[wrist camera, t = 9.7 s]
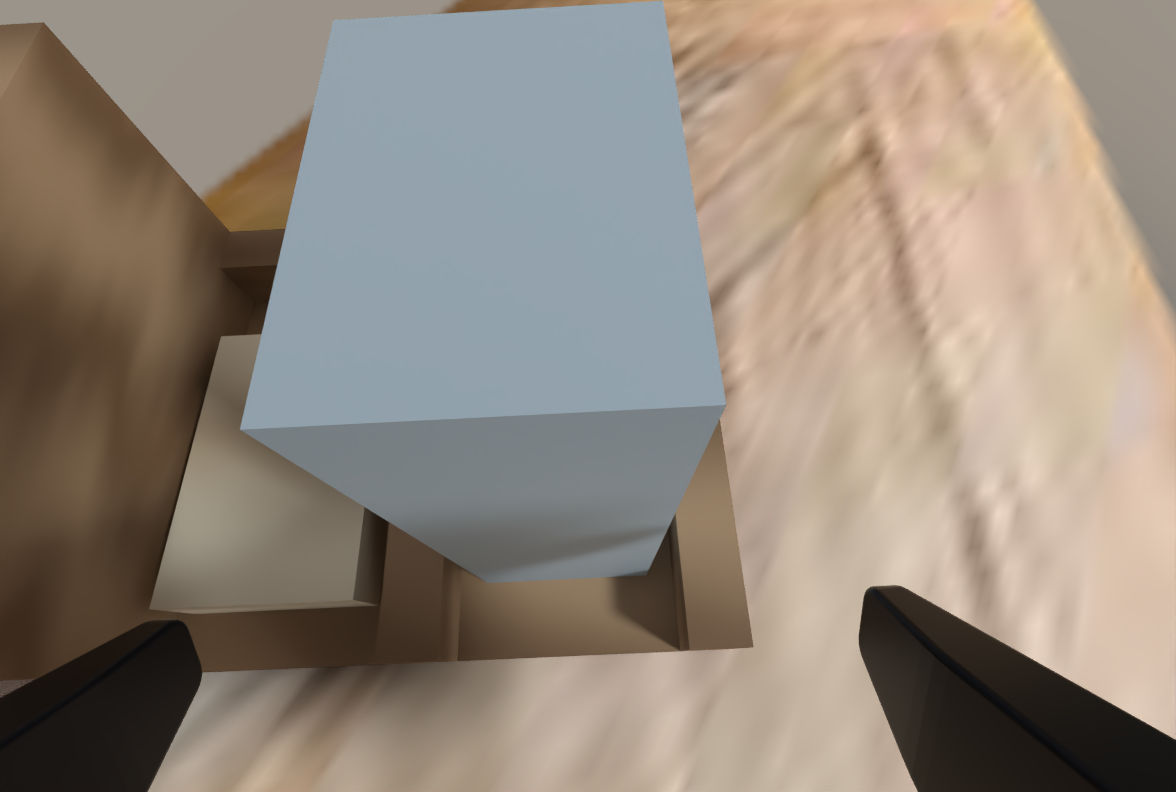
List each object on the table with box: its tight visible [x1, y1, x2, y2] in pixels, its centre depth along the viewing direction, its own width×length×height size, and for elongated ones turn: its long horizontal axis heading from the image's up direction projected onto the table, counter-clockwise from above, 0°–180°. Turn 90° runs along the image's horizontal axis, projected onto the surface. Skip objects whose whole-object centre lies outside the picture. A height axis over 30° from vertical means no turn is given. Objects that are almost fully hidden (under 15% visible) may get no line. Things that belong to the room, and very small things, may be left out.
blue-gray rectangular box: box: [240, 1, 726, 583], centre depth 12 cm, size 6×4×12 cm
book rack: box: [0, 23, 753, 681], centre depth 15 cm, size 14×17×10 cm
